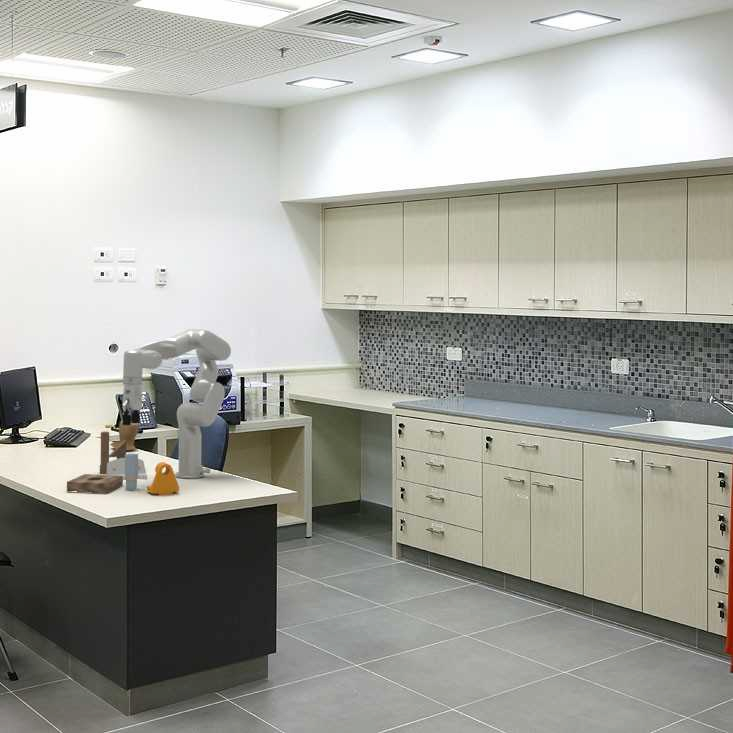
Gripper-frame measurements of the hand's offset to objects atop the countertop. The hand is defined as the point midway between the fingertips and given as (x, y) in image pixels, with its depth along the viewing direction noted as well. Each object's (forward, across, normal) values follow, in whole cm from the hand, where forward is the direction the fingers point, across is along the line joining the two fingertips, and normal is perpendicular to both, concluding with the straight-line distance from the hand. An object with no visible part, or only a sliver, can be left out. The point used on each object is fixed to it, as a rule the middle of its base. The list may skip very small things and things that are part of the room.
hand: (131, 423), depth 407 cm
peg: (+26, -4, -3) cm, 26 cm away
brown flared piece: (+24, +93, +37) cm, 103 cm away
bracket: (+26, -8, -17) cm, 32 cm away
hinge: (+25, +17, +8) cm, 32 cm away
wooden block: (+25, +29, +18) cm, 42 cm away
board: (+26, -7, +11) cm, 29 cm away
